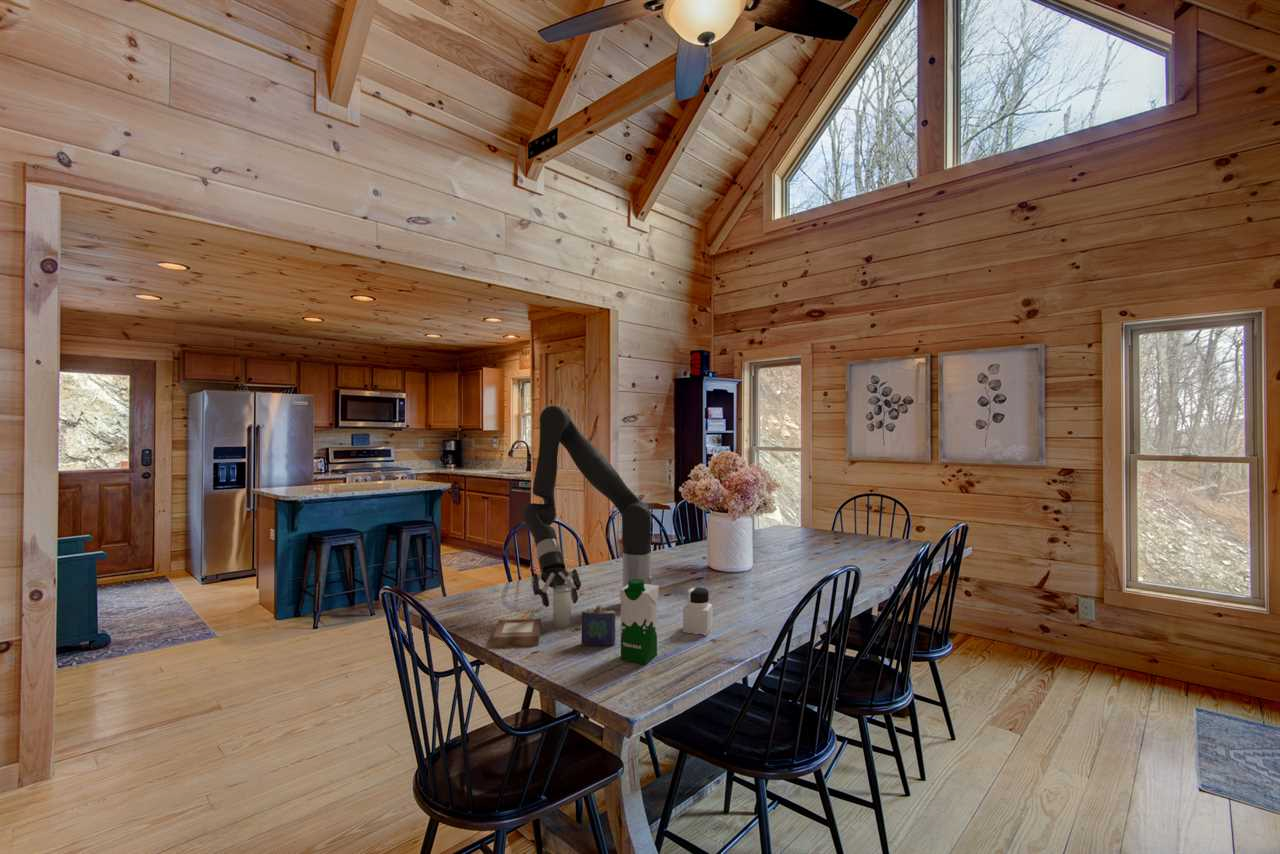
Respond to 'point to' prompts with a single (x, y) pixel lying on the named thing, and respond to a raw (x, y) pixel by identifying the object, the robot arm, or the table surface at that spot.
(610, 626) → the flask
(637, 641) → the milk carton
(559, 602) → the canister
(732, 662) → the table surface
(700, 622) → the medicine bottle
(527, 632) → the pedestal
